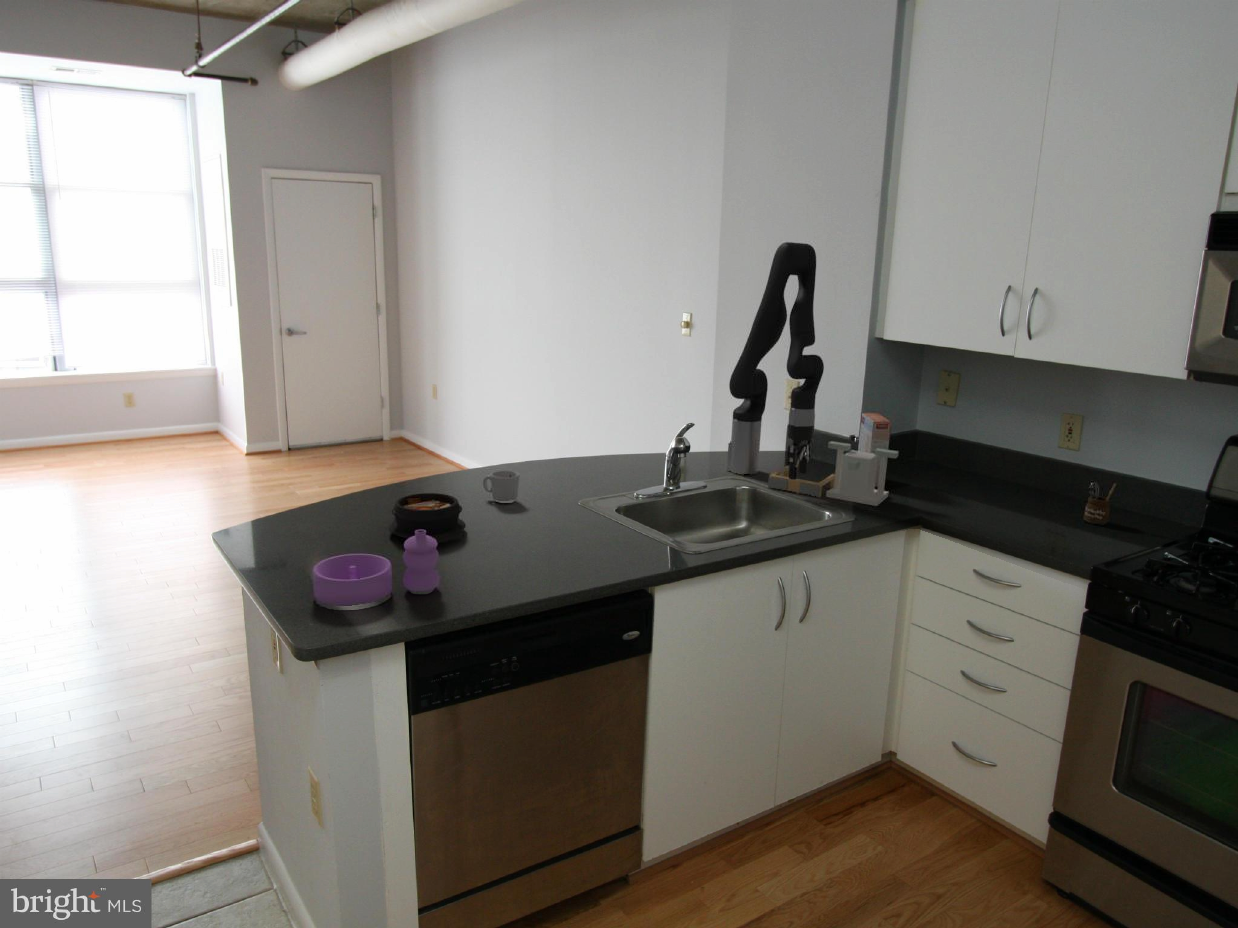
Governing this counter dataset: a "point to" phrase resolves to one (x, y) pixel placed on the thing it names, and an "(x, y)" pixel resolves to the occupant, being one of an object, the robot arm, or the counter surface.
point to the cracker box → (874, 436)
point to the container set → (375, 573)
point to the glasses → (798, 483)
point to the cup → (503, 485)
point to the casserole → (428, 516)
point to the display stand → (859, 474)
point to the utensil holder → (1098, 508)
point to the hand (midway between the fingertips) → (797, 476)
